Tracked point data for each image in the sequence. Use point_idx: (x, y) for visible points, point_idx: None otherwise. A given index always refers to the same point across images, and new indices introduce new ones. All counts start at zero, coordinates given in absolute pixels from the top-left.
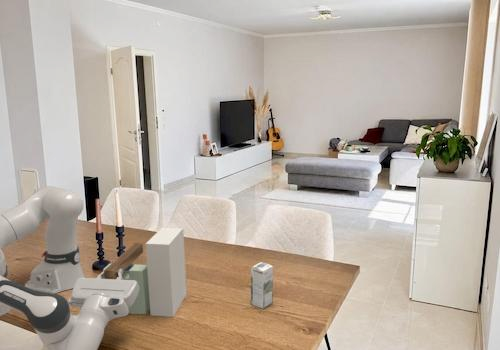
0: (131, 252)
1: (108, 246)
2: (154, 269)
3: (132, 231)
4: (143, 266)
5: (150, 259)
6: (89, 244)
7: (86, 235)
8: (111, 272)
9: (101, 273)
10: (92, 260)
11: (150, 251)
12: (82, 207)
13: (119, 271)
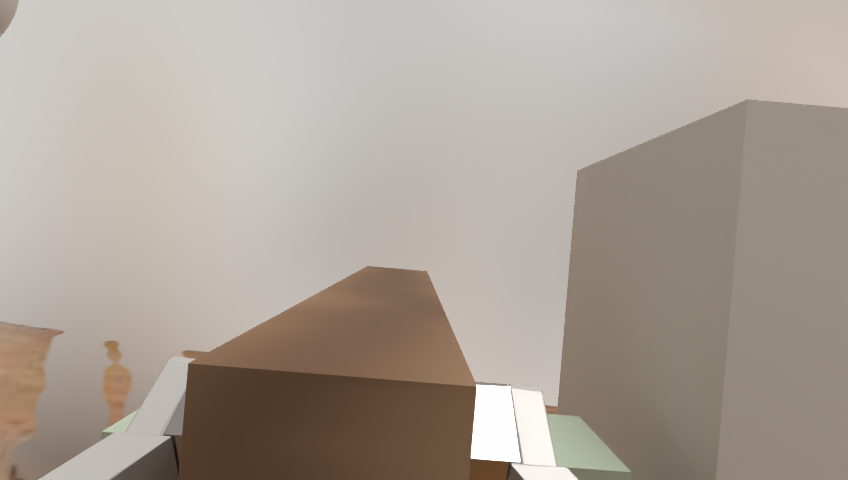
0: (421, 282)
1: (107, 390)
2: (815, 453)
3: (196, 356)
4: (559, 426)
5: (780, 315)
6: (27, 380)
7: (23, 356)
8: (422, 436)
9: (85, 467)
10: (23, 435)
11: (796, 207)
12: (6, 2)
13: (529, 435)
